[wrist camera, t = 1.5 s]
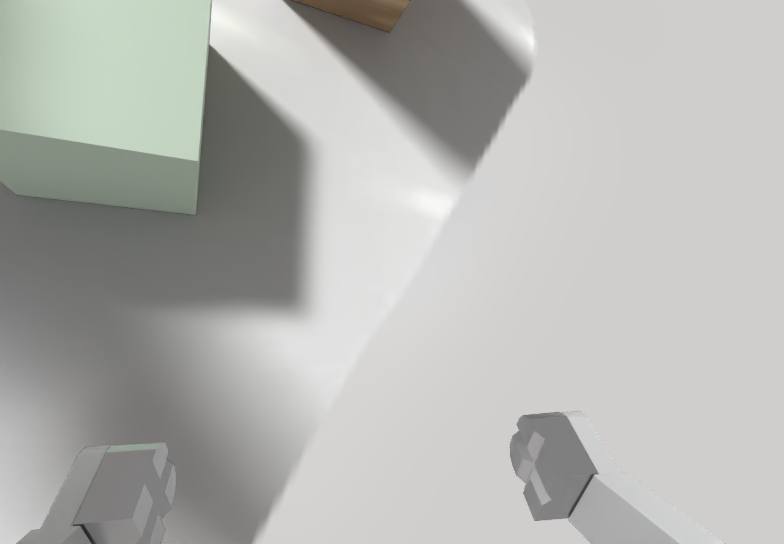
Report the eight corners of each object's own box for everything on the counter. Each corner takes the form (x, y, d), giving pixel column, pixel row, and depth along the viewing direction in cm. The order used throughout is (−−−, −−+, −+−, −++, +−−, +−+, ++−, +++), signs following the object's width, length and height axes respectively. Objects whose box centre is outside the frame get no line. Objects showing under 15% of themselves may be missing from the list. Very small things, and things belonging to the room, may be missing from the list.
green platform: (195, 215, 37) (198, 161, 25) (16, 194, 32) (-80, 116, 20) (209, 43, 39) (216, -75, 28) (44, -1, 34) (-28, -166, 23)
